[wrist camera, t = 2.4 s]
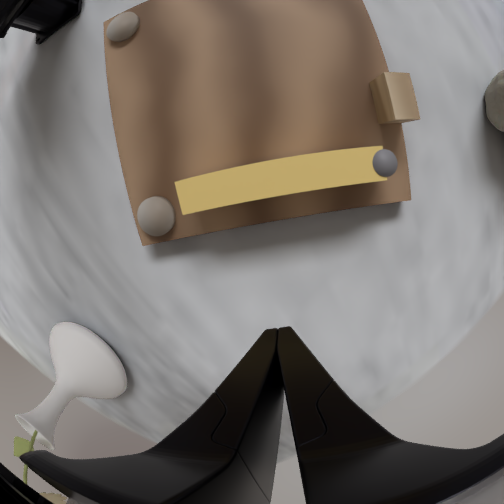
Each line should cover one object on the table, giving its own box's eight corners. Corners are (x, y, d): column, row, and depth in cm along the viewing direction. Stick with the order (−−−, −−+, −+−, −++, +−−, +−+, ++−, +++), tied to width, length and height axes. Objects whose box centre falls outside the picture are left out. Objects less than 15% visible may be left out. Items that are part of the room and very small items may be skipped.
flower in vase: (83, 381, 29) (4, 507, 6) (45, 313, 26) (-71, 439, 2) (158, 392, 28) (86, 568, 4) (120, 313, 24) (-23, 517, 1)
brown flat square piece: (151, 239, 21) (125, 259, 17) (112, 28, 15) (85, 11, 10) (401, 196, 18) (430, 207, 14) (341, -24, 12) (352, -52, 8)
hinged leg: (379, 145, 15) (394, 144, 13) (383, 175, 16) (399, 178, 13) (187, 178, 17) (174, 181, 15) (194, 207, 18) (182, 215, 15)
